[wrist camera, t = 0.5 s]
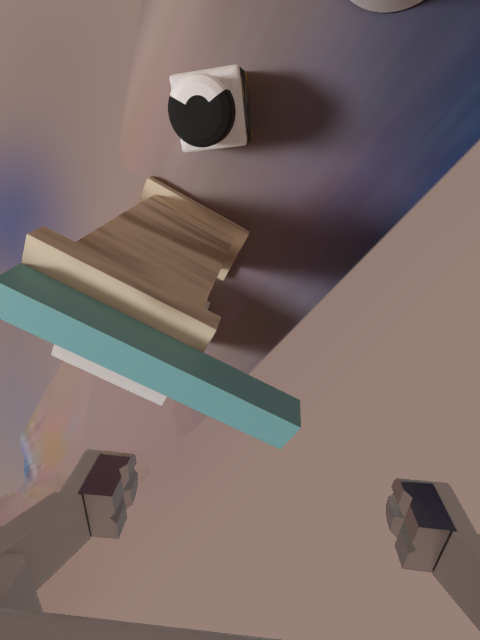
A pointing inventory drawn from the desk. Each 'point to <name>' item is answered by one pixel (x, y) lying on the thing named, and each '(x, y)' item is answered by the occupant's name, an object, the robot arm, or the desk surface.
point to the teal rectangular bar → (146, 355)
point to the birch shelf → (148, 262)
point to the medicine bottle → (210, 108)
